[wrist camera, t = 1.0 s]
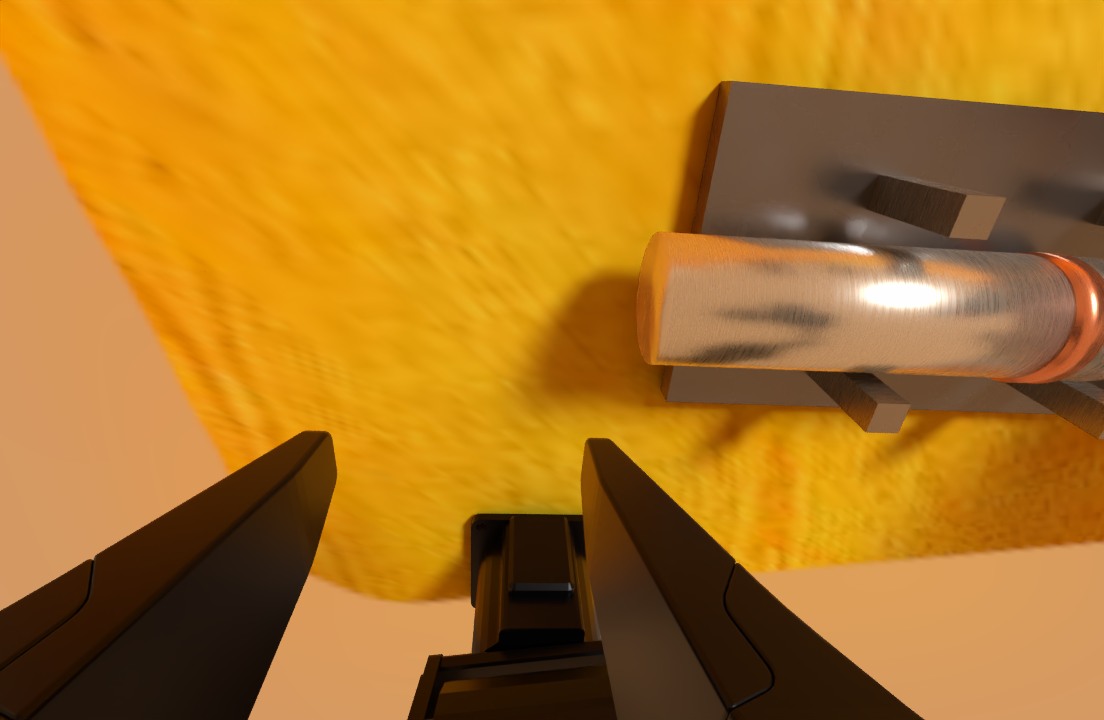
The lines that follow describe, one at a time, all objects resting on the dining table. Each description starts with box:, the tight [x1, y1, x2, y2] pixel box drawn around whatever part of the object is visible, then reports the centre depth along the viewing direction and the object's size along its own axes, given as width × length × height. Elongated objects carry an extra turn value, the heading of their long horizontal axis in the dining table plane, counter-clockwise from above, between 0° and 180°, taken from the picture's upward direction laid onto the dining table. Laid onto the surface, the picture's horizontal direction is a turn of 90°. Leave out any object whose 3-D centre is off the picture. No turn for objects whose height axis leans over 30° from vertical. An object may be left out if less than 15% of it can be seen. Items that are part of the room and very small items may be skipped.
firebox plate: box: [661, 81, 1104, 439], centre depth 19 cm, size 12×20×5 cm, turn 86°
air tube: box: [636, 232, 1104, 384], centre depth 18 cm, size 5×16×5 cm, turn 86°
